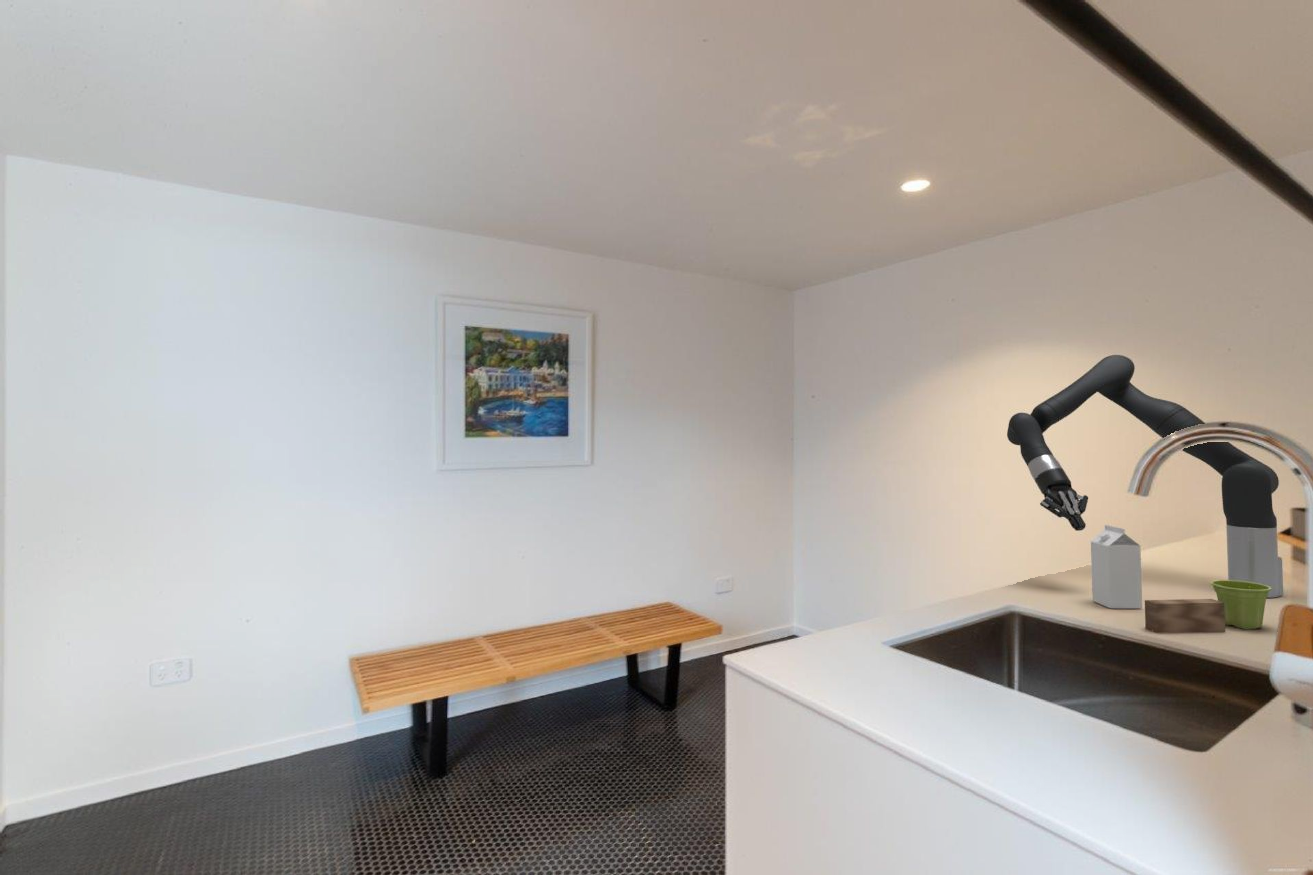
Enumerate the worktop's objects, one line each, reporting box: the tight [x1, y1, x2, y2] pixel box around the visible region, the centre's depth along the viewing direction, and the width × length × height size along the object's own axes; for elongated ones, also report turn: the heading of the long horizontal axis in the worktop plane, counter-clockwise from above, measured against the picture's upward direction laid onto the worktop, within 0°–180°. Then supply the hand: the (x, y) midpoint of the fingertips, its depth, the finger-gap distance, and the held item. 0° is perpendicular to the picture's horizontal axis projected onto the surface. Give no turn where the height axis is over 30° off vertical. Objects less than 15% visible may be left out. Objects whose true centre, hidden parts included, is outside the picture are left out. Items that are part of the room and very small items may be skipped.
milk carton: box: [1090, 524, 1143, 609], centre depth 148 cm, size 7×7×19 cm
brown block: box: [1144, 598, 1226, 633], centre depth 128 cm, size 14×3×6 cm, turn 89°
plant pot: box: [1210, 579, 1271, 630], centre depth 130 cm, size 9×9×9 cm
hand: (1080, 529), depth 159 cm, fingers closed
